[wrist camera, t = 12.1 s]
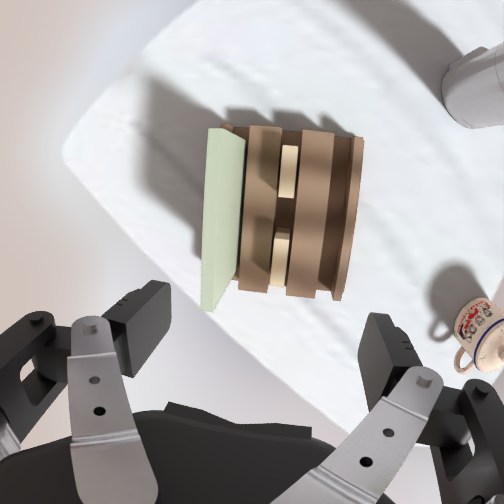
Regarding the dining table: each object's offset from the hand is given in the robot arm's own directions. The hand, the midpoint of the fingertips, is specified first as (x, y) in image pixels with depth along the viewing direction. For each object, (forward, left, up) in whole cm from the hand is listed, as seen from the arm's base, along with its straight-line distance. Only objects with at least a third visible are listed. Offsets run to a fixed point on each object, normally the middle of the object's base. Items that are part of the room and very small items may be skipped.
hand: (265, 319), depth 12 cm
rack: (0, 0, -29) cm, 29 cm away
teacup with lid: (+15, +33, -30) cm, 47 cm away
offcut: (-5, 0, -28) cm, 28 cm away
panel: (-1, -6, -28) cm, 29 cm away
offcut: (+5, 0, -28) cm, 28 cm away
